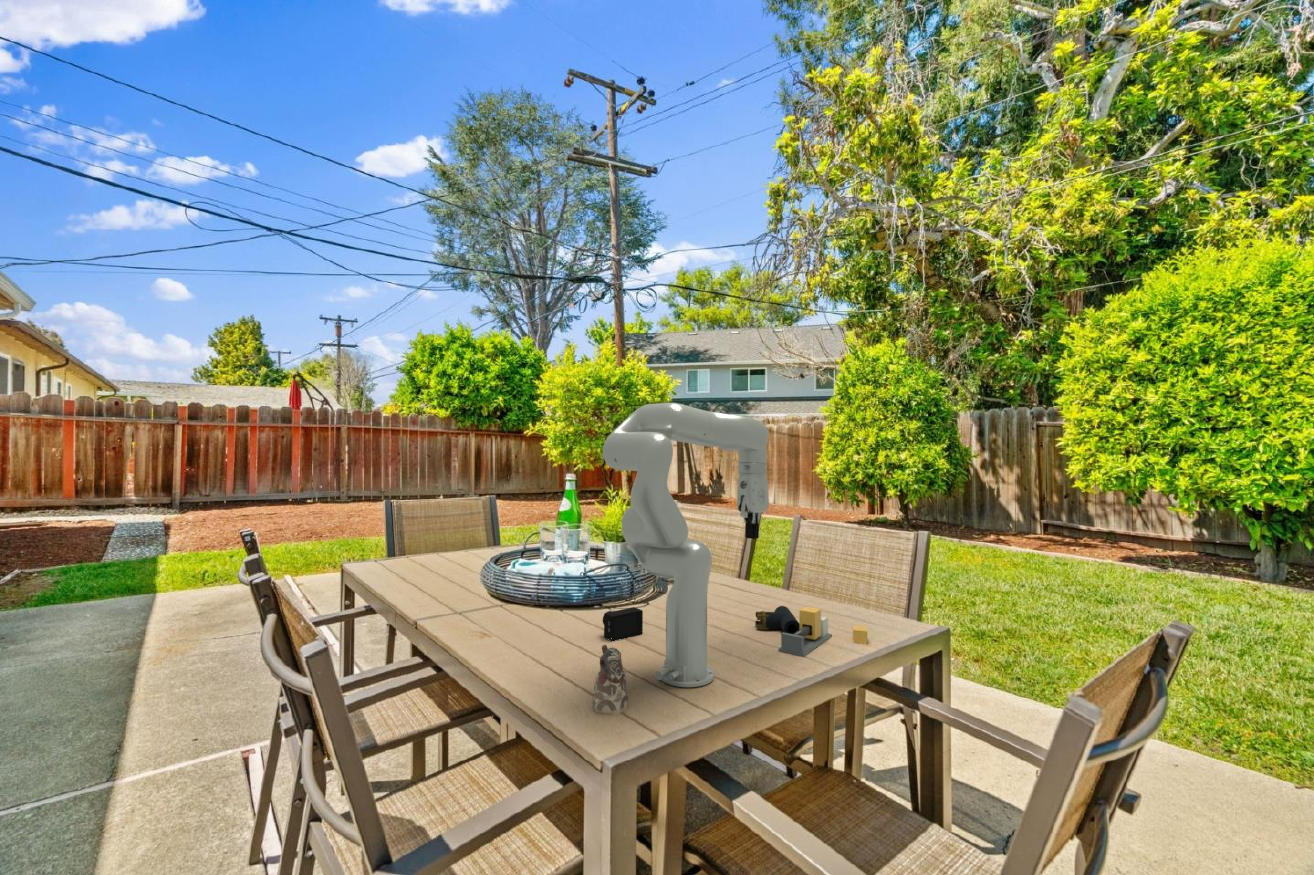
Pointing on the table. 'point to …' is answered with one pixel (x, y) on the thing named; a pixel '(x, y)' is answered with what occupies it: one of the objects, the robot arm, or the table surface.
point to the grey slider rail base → (804, 640)
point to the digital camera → (623, 623)
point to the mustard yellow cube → (859, 634)
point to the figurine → (610, 684)
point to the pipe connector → (777, 620)
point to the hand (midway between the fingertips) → (751, 537)
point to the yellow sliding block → (811, 621)
